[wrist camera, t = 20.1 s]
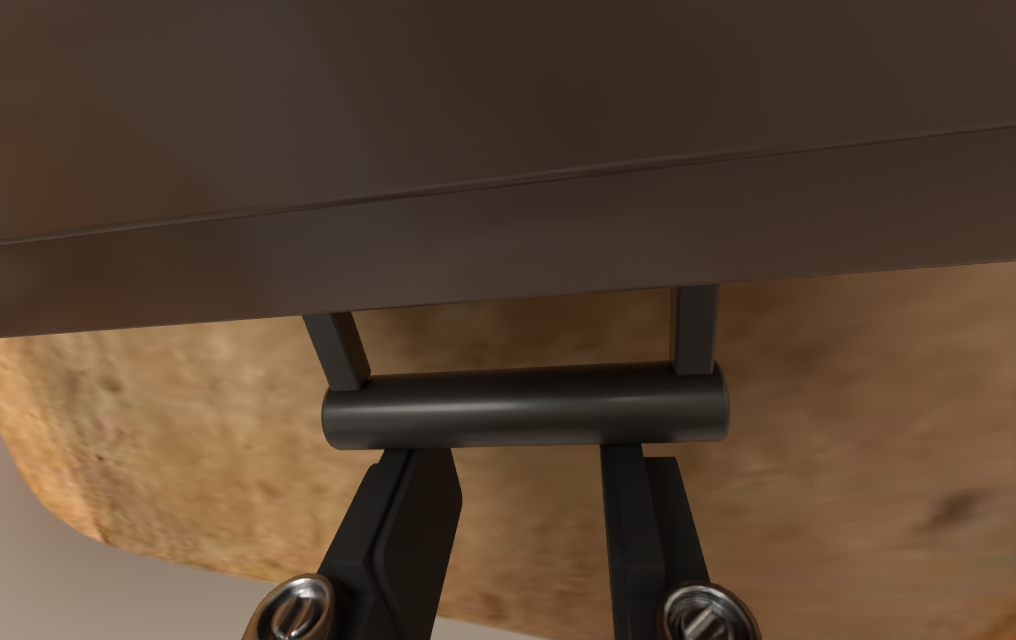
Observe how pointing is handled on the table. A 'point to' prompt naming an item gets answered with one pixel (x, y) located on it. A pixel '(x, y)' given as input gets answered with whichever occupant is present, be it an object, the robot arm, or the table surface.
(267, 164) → the cabinet
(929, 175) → the drawer
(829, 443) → the table surface
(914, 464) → the table surface
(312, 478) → the table surface
